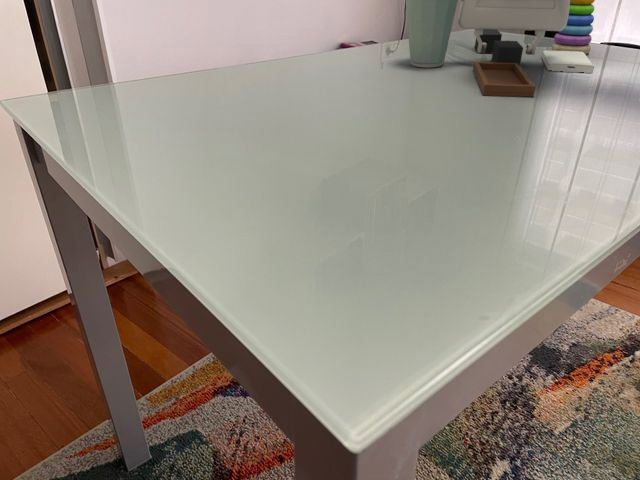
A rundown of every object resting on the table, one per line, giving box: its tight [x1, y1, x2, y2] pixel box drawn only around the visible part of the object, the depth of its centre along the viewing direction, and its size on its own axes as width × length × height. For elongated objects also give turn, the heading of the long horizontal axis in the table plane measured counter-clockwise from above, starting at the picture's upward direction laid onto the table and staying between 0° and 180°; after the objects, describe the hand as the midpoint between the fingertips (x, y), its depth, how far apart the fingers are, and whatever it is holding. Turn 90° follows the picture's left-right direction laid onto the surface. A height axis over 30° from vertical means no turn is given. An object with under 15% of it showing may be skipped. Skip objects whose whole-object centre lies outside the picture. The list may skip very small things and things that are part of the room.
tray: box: [472, 61, 537, 97], centre depth 94 cm, size 8×17×2 cm, turn 172°
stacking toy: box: [551, 0, 596, 55], centre depth 112 cm, size 8×8×19 cm
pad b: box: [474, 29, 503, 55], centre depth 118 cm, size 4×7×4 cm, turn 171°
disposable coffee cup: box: [405, 0, 459, 68], centre depth 103 cm, size 11×11×15 cm
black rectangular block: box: [490, 40, 524, 67], centre depth 106 cm, size 4×7×4 cm, turn 171°
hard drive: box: [541, 49, 595, 74], centre depth 106 cm, size 2×8×12 cm
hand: (505, 53), depth 105 cm, fingers open, 8 cm apart
